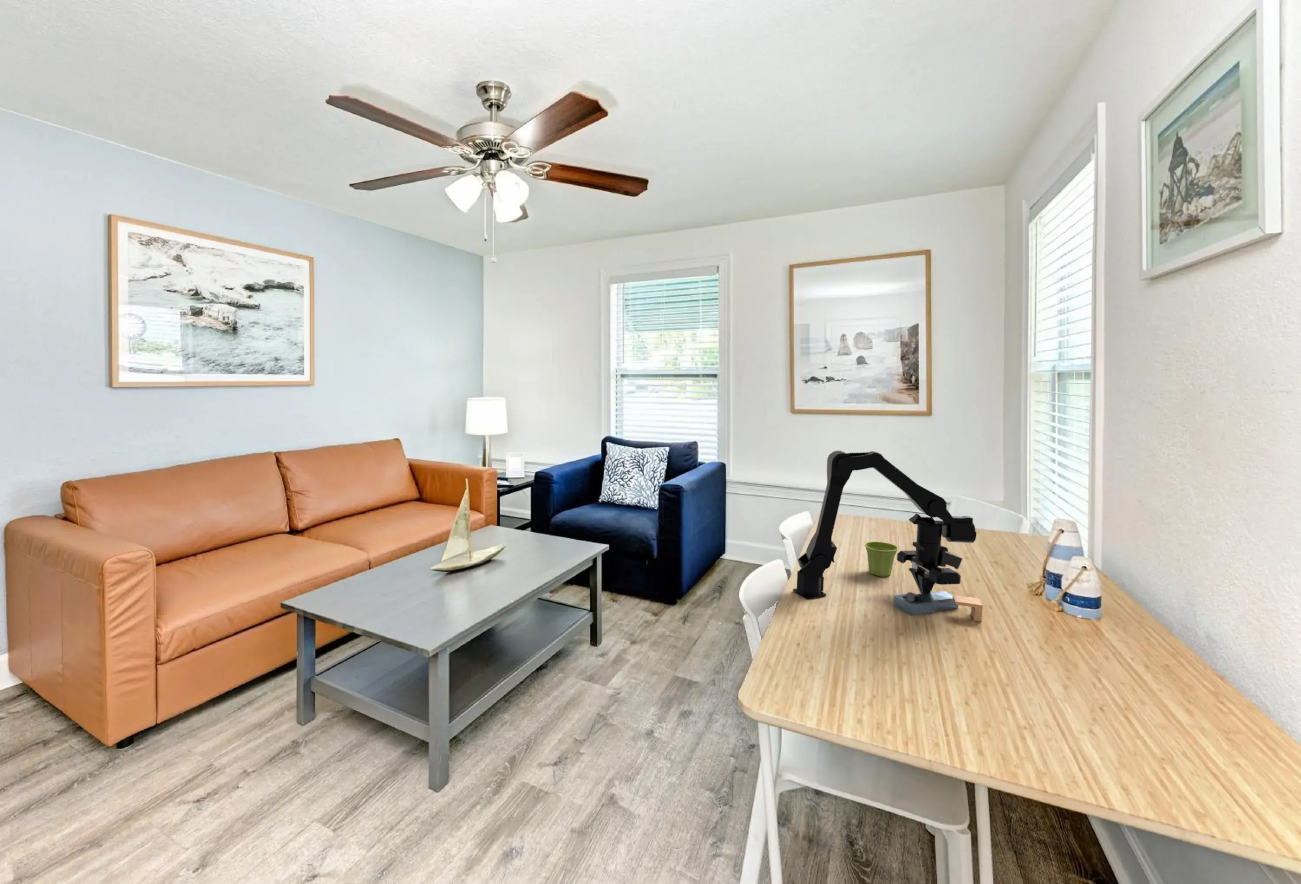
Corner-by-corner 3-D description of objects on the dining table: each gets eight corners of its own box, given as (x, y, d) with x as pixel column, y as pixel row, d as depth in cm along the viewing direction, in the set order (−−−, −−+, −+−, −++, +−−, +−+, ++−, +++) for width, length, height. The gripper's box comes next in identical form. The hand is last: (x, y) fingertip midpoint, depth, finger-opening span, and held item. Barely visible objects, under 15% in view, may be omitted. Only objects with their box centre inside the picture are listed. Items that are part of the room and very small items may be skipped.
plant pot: (902, 579, 154) (904, 550, 153) (870, 578, 154) (871, 550, 154) (888, 568, 163) (890, 541, 163) (858, 568, 164) (859, 541, 163)
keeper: (954, 617, 128) (955, 601, 128) (951, 610, 132) (952, 595, 132) (981, 621, 126) (982, 605, 125) (977, 614, 130) (978, 598, 130)
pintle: (910, 609, 132) (910, 594, 132) (903, 606, 134) (904, 591, 134) (915, 608, 133) (916, 593, 133) (909, 605, 135) (910, 590, 135)
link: (911, 615, 129) (911, 604, 129) (893, 605, 135) (894, 595, 135) (961, 609, 133) (961, 598, 133) (941, 600, 139) (942, 589, 139)
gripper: (983, 551, 128) (978, 612, 129) (935, 530, 146) (931, 583, 148) (940, 552, 127) (936, 613, 128) (897, 531, 145) (894, 584, 147)
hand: (924, 597), depth 138 cm, fingers closed
